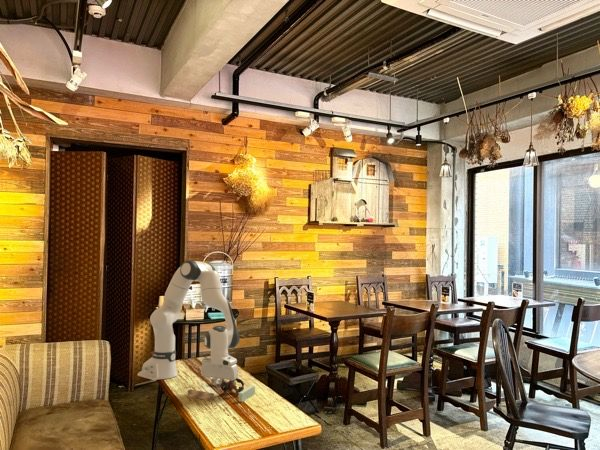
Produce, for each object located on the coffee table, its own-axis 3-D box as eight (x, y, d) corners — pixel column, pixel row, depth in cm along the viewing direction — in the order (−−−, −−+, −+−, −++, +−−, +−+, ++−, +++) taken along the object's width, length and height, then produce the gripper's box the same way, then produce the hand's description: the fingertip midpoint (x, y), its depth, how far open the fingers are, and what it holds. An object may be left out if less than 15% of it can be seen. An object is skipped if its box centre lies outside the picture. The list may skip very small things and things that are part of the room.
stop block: (238, 401, 217) (238, 392, 217) (251, 393, 228) (251, 385, 228) (242, 401, 216) (242, 393, 216) (254, 394, 227) (254, 386, 227)
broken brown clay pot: (236, 389, 236) (243, 376, 234) (241, 402, 228) (247, 390, 226) (215, 387, 230) (221, 374, 228) (219, 400, 222) (226, 387, 220)
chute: (187, 396, 223) (187, 390, 223) (213, 383, 243) (213, 377, 243) (211, 400, 217) (211, 394, 217) (235, 387, 238) (236, 381, 238)
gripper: (198, 358, 231) (198, 385, 230) (233, 363, 222) (232, 391, 222) (205, 355, 236) (205, 382, 236) (239, 359, 228) (239, 387, 228)
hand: (218, 386), depth 229 cm, fingers closed
